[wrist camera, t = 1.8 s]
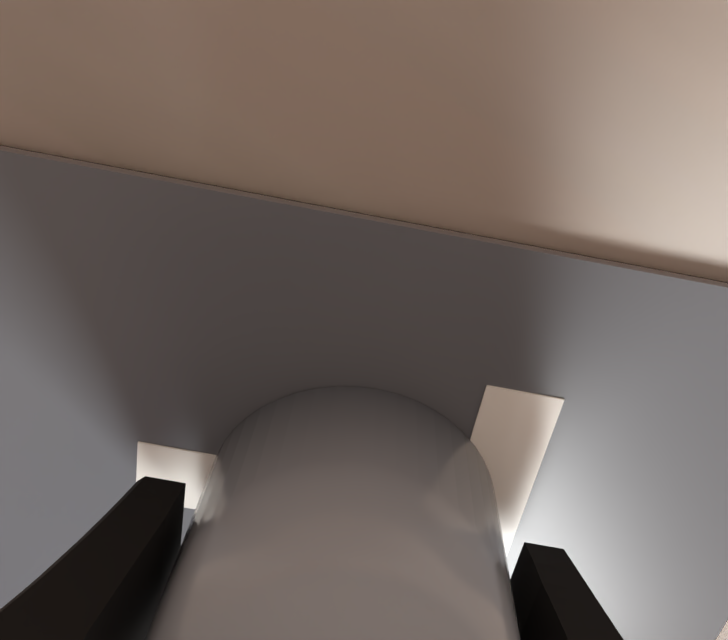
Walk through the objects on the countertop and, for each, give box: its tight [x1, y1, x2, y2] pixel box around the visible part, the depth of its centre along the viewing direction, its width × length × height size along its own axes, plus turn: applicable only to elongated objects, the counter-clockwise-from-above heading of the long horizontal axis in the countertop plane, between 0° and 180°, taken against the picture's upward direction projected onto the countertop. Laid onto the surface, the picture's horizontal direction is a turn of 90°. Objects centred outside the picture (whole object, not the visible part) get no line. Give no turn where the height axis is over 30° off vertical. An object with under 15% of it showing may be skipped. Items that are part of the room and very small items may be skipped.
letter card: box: [0, 146, 728, 640], centre depth 12 cm, size 14×10×1 cm
